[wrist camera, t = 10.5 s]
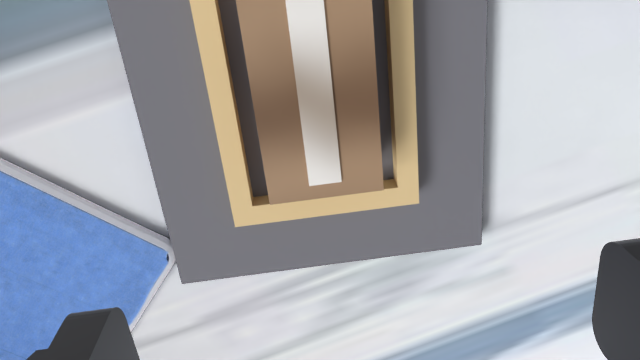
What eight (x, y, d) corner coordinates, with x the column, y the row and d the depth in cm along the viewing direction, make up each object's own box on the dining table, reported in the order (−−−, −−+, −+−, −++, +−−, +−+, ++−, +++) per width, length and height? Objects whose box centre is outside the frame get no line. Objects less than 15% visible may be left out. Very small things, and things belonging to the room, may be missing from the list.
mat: (184, 274, 29) (178, 295, 27) (72, -158, 20) (53, -167, 19) (476, 236, 29) (488, 254, 27) (485, -205, 20) (503, -218, 19)
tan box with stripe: (238, -21, 22) (232, -14, 19) (358, -35, 22) (370, -31, 19) (270, 176, 26) (269, 205, 23) (372, 163, 26) (384, 191, 23)
